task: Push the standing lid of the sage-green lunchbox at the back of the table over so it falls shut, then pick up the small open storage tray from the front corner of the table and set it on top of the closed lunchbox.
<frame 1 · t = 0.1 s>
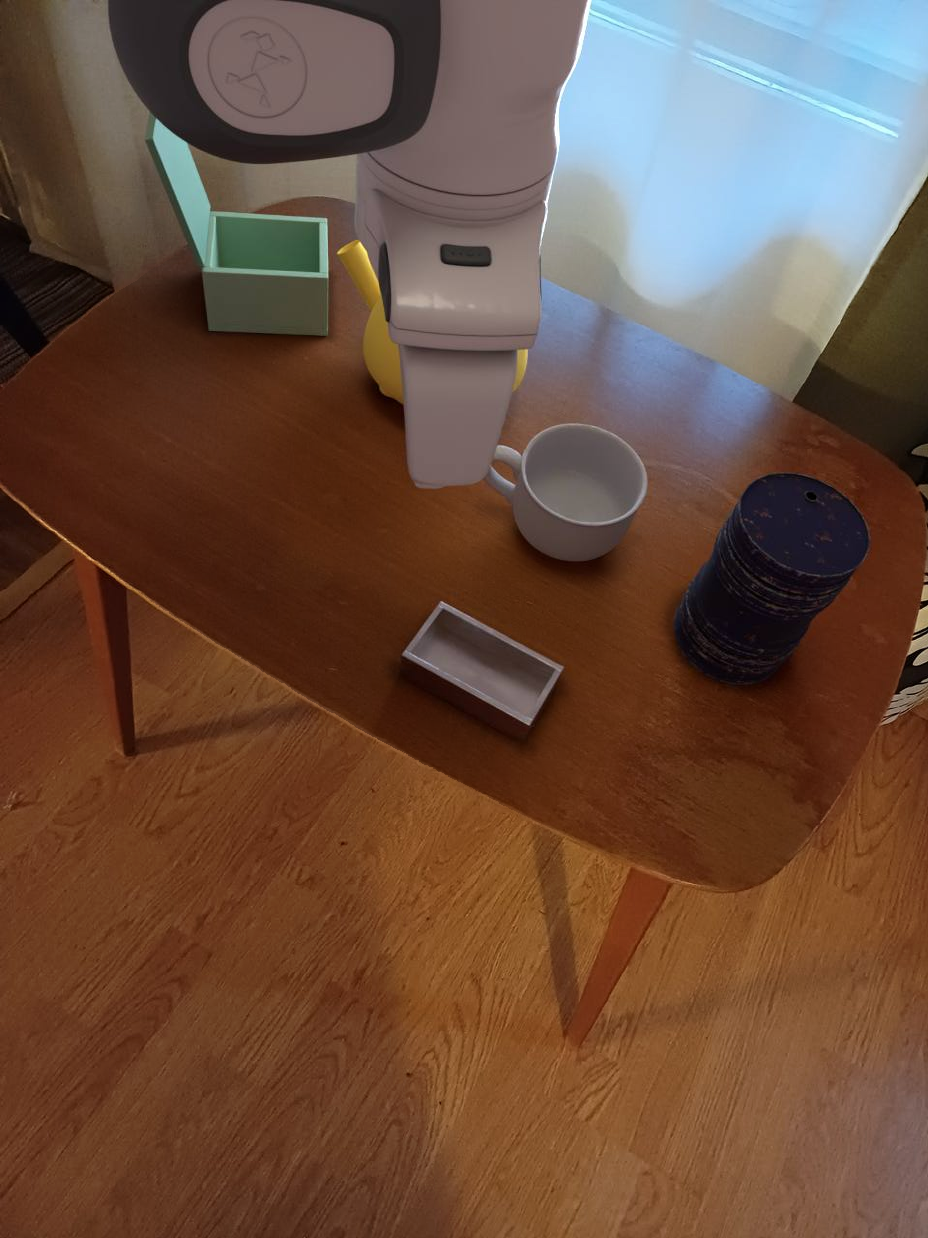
hand: (422, 418, 54), 24 cm above the table, tool pointing down, fingers open, 8 cm apart
lunchbox lid: (180, 175, 83), point 13 cm above the table, hinge at 104.0°
teapot: (421, 376, 92), on the table
teacup: (547, 525, 83), on the table
open storage tray: (478, 680, 73), on the table
lunchbox: (269, 302, 95), on the table
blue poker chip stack: (727, 636, 79), on the table
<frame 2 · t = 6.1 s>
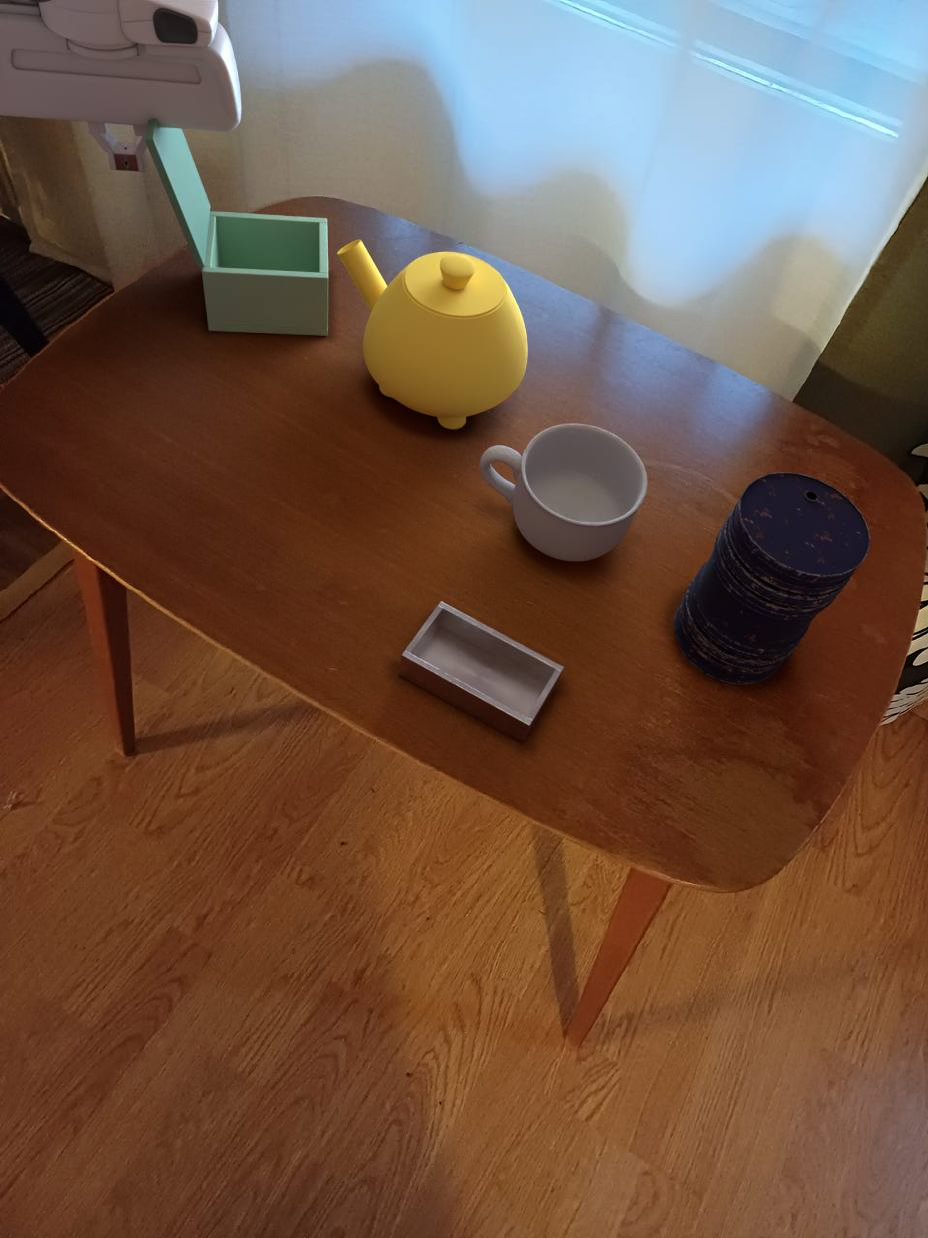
hand: (129, 167, 82), 14 cm above the table, tool pointing down, fingers closed
lunchbox lid: (180, 175, 83), point 13 cm above the table, hinge at 104.0°, touching gripper
everything else where it was.
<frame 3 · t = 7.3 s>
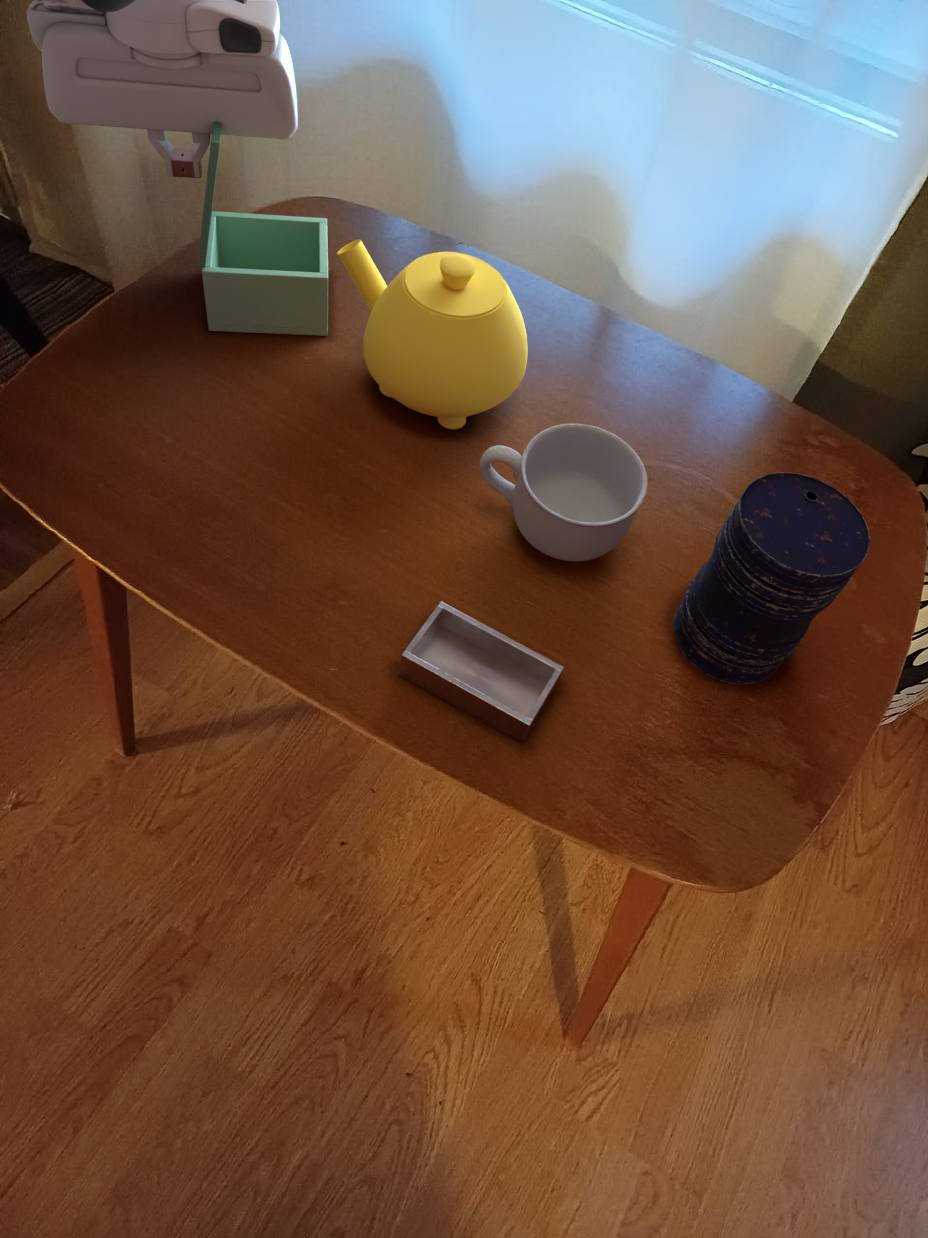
hand: (185, 173, 83), 13 cm above the table, tool pointing down, fingers closed
lunchbox lid: (211, 177, 83), point 13 cm above the table, hinge at 78.8°, touching gripper
everything else where it was.
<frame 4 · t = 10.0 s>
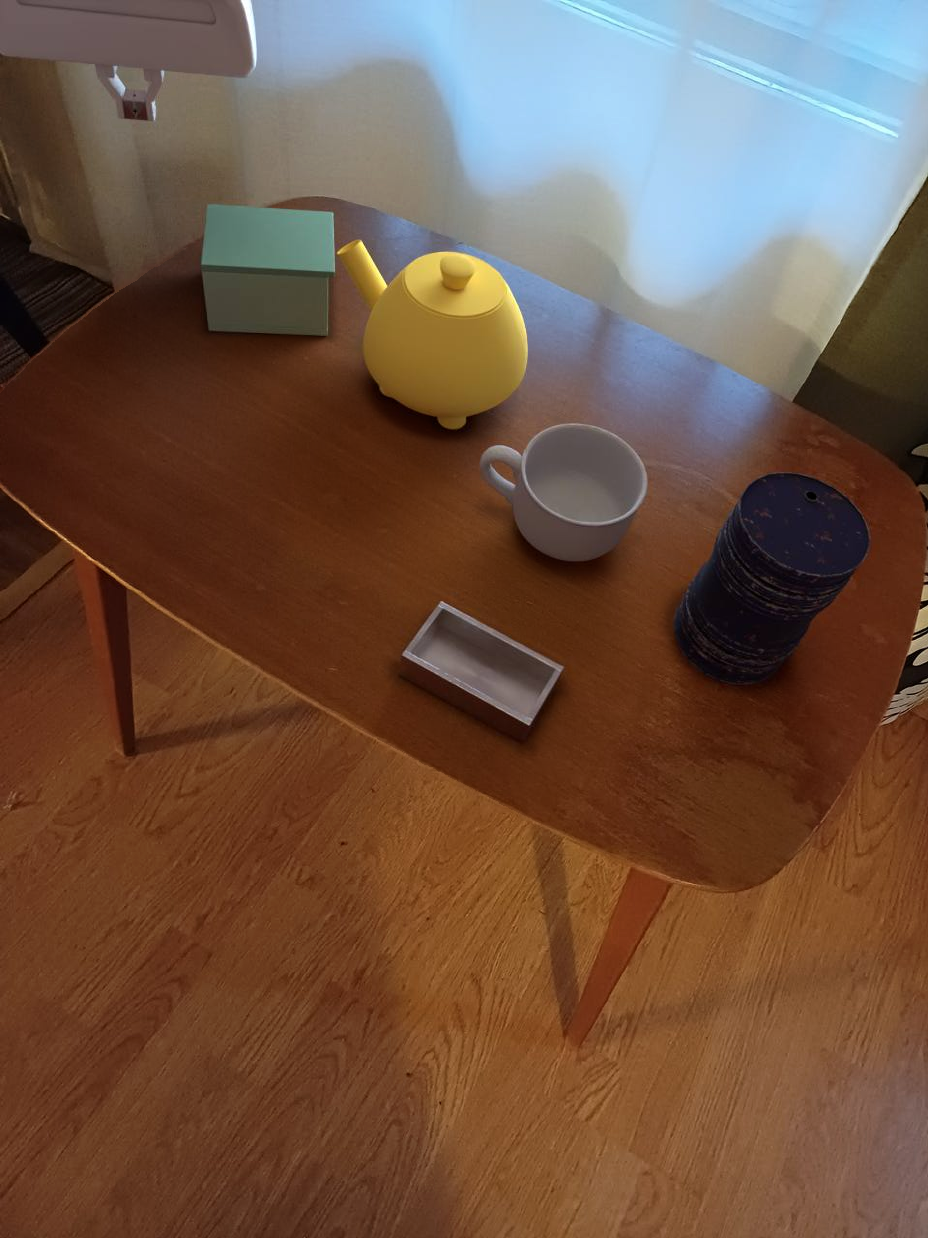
hand: (137, 116, 78), 18 cm above the table, tool pointing down, fingers closed
lunchbox lid: (269, 240, 89), point 7 cm above the table, hinge at -0.2°
everything else where it was.
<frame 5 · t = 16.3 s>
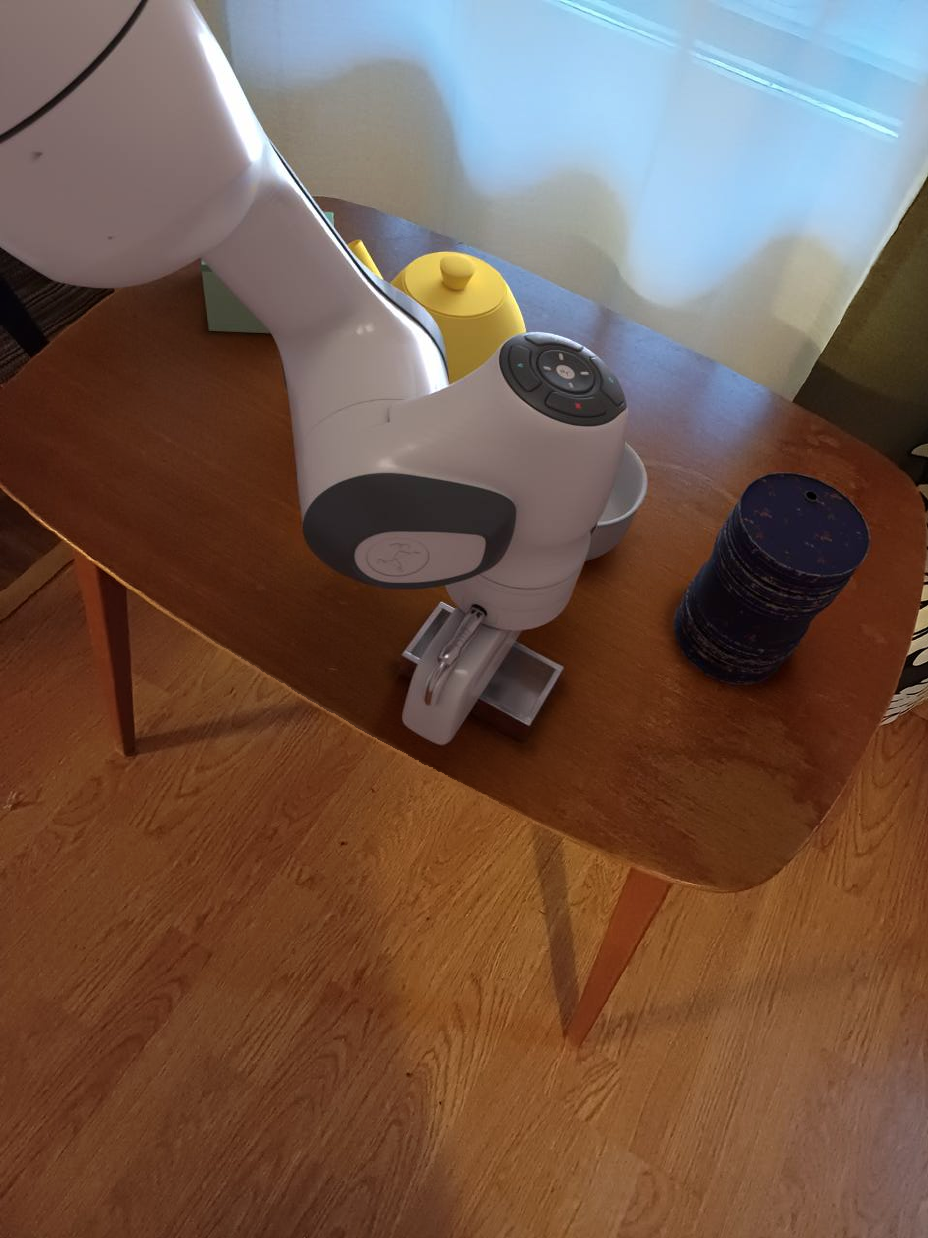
hand: (481, 669, 71), 2 cm above the table, tool pointing down, fingers closed on open storage tray, 6 cm apart
open storage tray: (477, 681, 73), on the table, touching gripper
everything else where it was.
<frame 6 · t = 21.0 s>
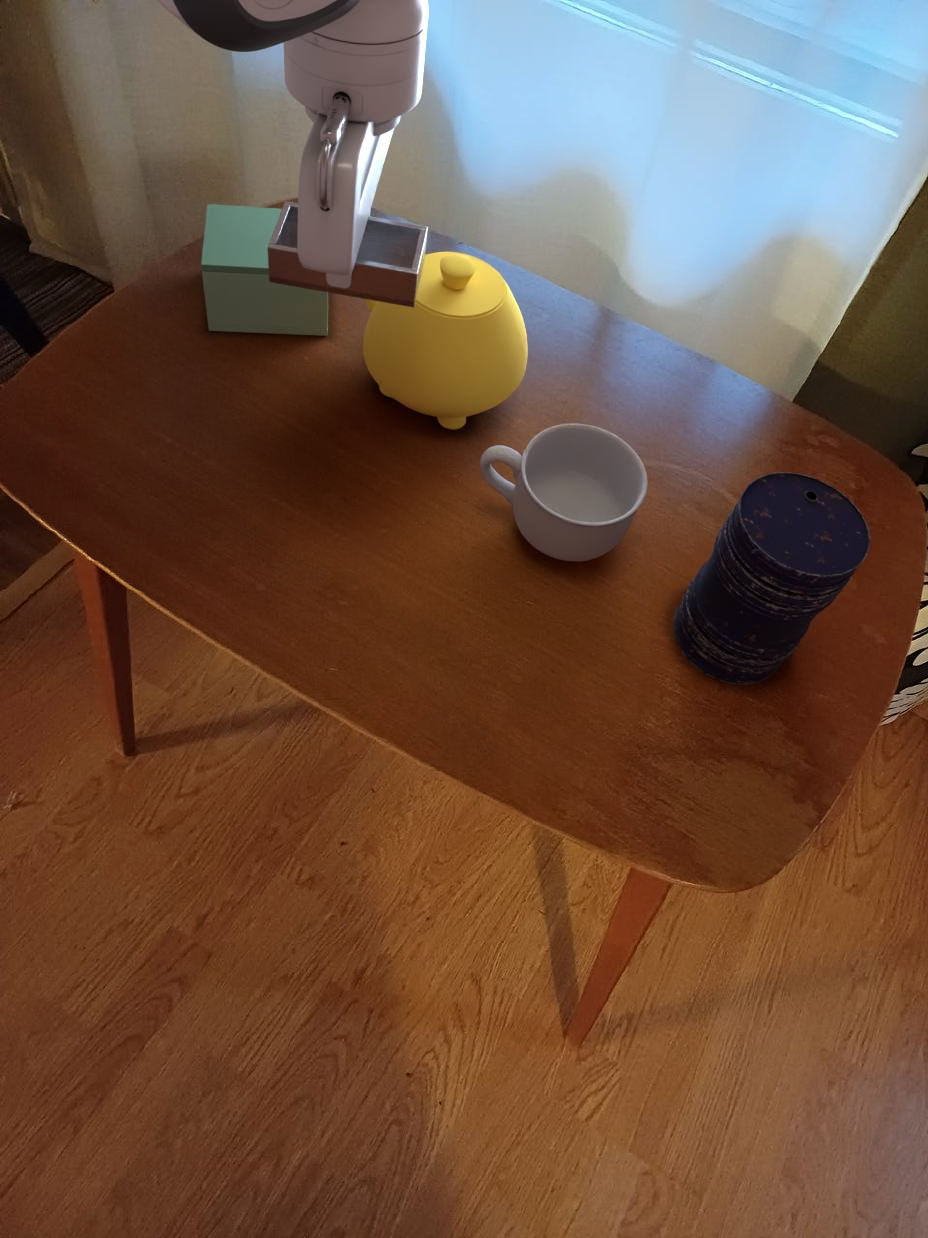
hand: (348, 251, 70), 19 cm above the table, tool pointing down, fingers closed on open storage tray, 6 cm apart
open storage tray: (348, 271, 71), point 18 cm above the table, touching gripper
everything else where it was.
when the fingers open (9 cm above the table, at t = 25.6 s): open storage tray stays where it is, resting on lunchbox lid.
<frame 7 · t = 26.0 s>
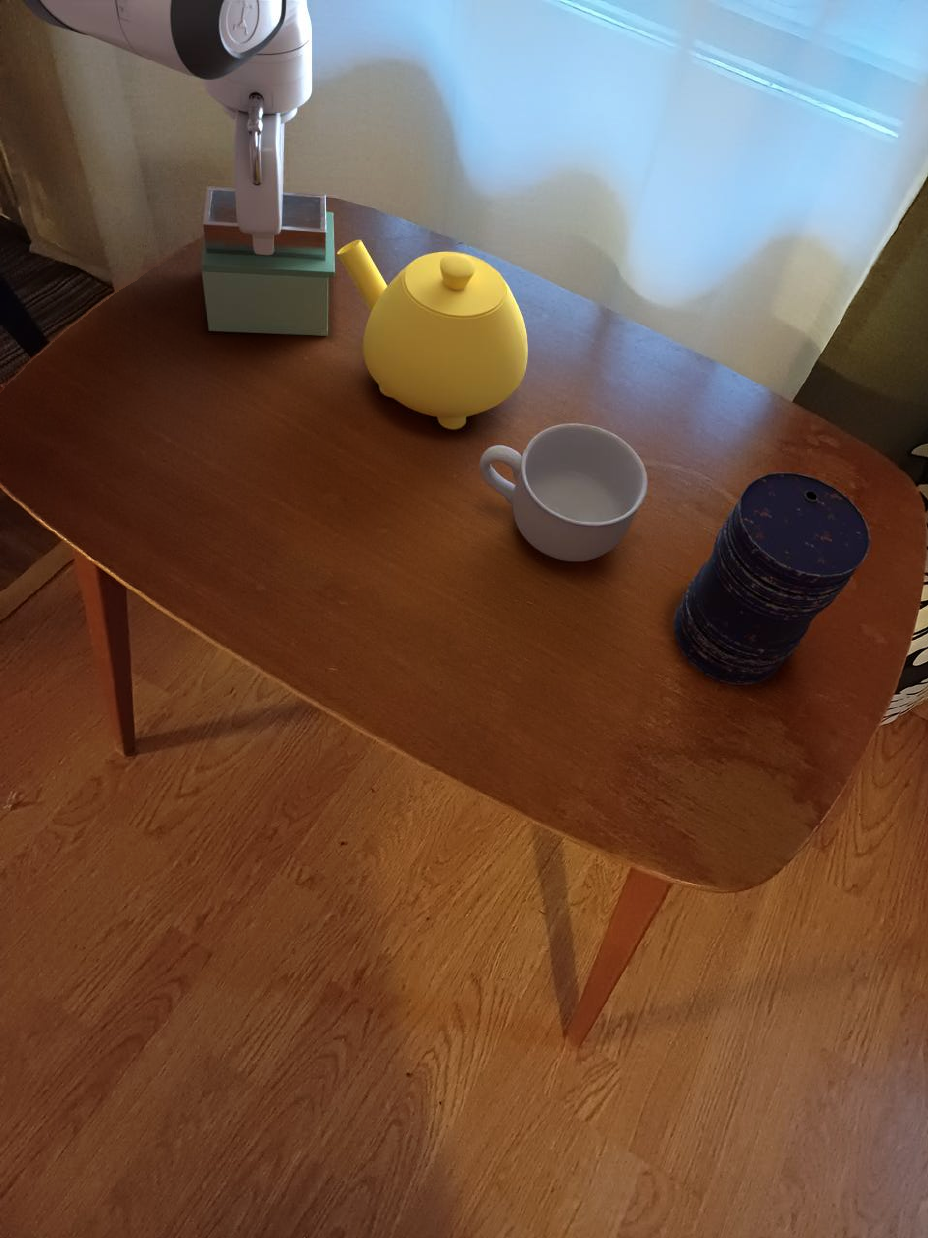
hand: (265, 219, 87), 9 cm above the table, tool pointing down, fingers open, 8 cm apart
lunchbox lid: (269, 240, 89), point 7 cm above the table, hinge at -0.2°, touching lunchbox, open storage tray
open storage tray: (267, 237, 89), point 8 cm above the table, touching lunchbox lid
everything else where it was.
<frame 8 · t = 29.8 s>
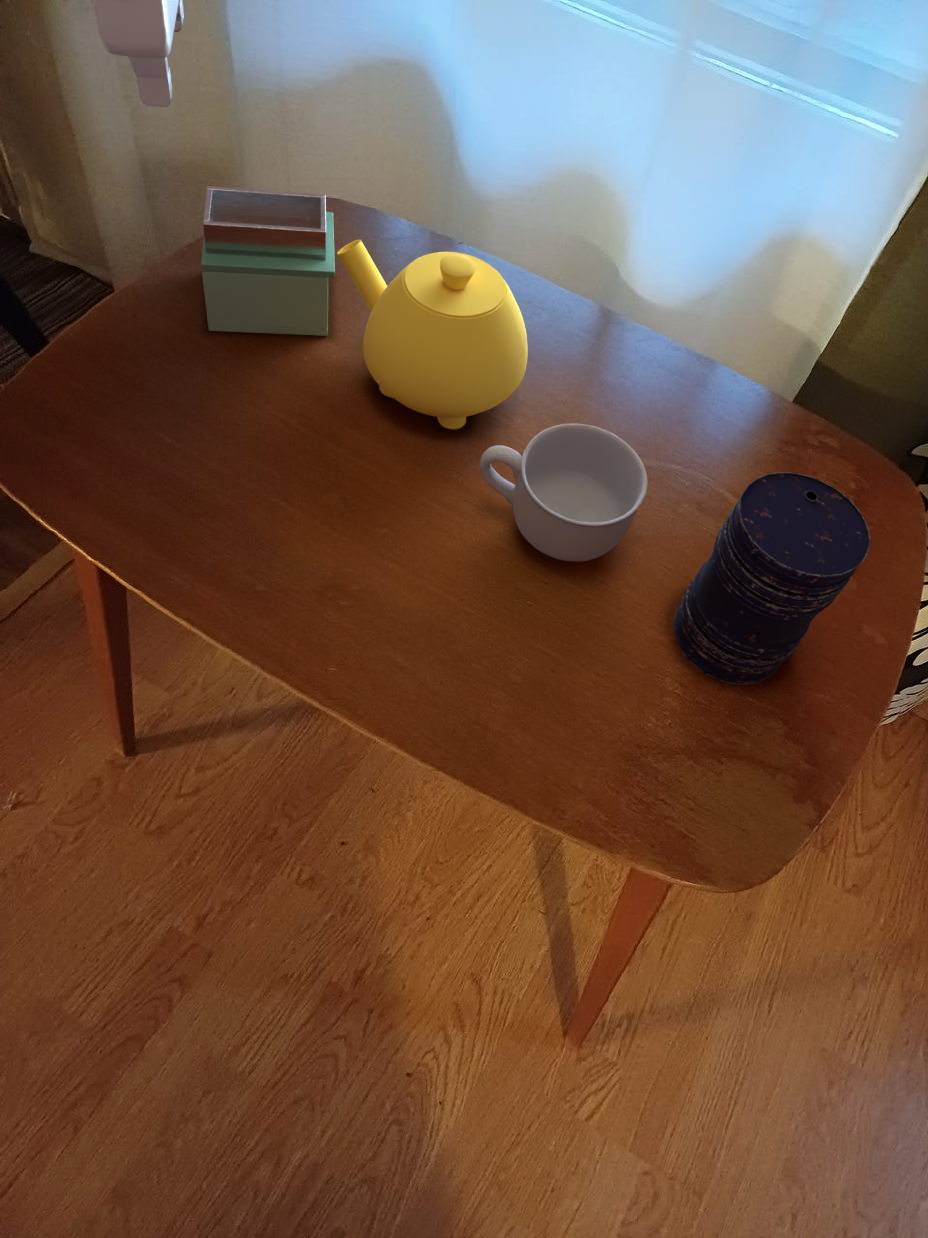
hand: (164, 61, 59), 31 cm above the table, tool pointing down, fingers open, 8 cm apart
nothing on the table moved.
at the end: lunchbox lid at +0° (first picture: +104°); open storage tray inside the target area on the lunchbox (0.1 cm from its centre), point 7.5 cm above the lunchbox's base; open storage tray tilted 0° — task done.
